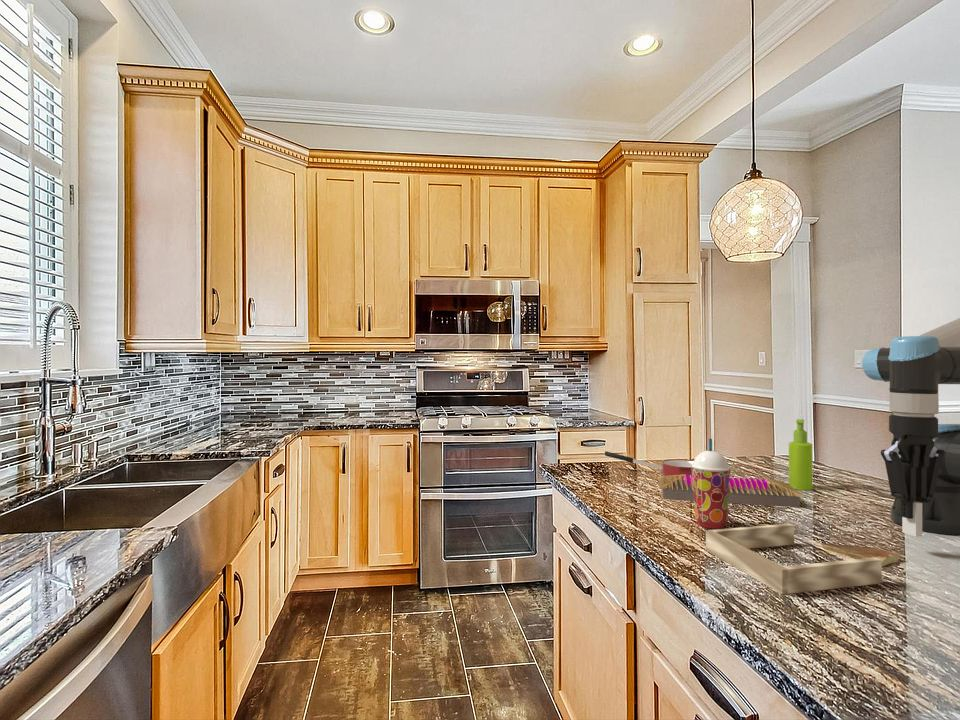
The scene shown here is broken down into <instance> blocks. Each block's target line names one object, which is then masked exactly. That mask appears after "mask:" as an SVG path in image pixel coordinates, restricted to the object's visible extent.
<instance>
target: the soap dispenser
mask: <svg viewBox="0 0 960 720" xmlns="http://www.w3.org/2000/svg"><path fill="white" fill-rule="evenodd" d="M795 420H796V421H795V423H796V429H795V430H794V431H793V441H790V442H788V483H789V484H790V485H791V486H792V487H793V488H795V489H796V491H798V490H799V491H812V490H813V444H812V443H810V442H808V432H807V431H806V430H805V429H804V428H805V427H804V424H805V419H802V418H801V419H800V418H797V419H795Z"/></svg>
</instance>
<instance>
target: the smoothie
mask: <svg viewBox="0 0 960 720" xmlns="http://www.w3.org/2000/svg"><path fill="white" fill-rule="evenodd" d="M691 467H692V480H693V494H694V501H693V508H694V518H695V520H696V521H697V524H698V525H699V526H700V527H702V528H706V529H710V530H717V529H724V528H725V525H726V523H728V513H729V512H728V510H729V503H728V497H729V480H730V478H731V477H730V475H731V469H732V468H731V466H730V465H729V462H728V460H727V459H726V457H725V456H724V455H722V454H721V453H720V452H718V451H715V450H713V439H712V438H709V439H708V450H704V451H701V452H700V453H698V454H697V455H696V456H695V458H694V462H693V464H691Z"/></svg>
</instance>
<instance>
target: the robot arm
mask: <svg viewBox="0 0 960 720" xmlns="http://www.w3.org/2000/svg"><path fill="white" fill-rule="evenodd" d="M861 366H862V370H863V372H864V374H865V375H866V377H868V378H869V379H871V380H873V381H880V382H884V383H887V382H889V388H888V389H889V412H890V413H891V414H890V415H889V416H888V432H890V433H891V434H892V435H893V438H892V440H891V446H890V447H889V448H888V449H881V450H880V455H881V457H882V459H883V461H884V465H885V469H886V475H887V480H888V485H889V489H890V495H891V497H893V498H894V501H893V503H892V506H891V507H890V520H891V521H892V522H895V523H896V524H898V525H901V526H902V527H901V529H902V530H901V531H902V533H903V534H906V535H909V536H912V537H916V538H918V537H923V532H929V533H936V534H944V535H952V536H953V535H957V536H959V535H960V423H940V424H939V418H937V416H935V415H938V414H939V412H940V410H939V409H940V407H939V400H940V398H939V385H960V317H959V318H956V319H954V320H952V321H950V322H947V323H945V324H942V325H940V326H938V327H936V328H932V329H931V330H929V331H927V332H924V333H921V334H919V335H915V336H914V335H913V336H911V335H909V336H895V337H894V338H892V339H891V340H890V347H878V348H872V349H870V350H868V351H867V352H866V353H865V354H864V356H863V358H862V362H861ZM892 413H893V414H892Z"/></svg>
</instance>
